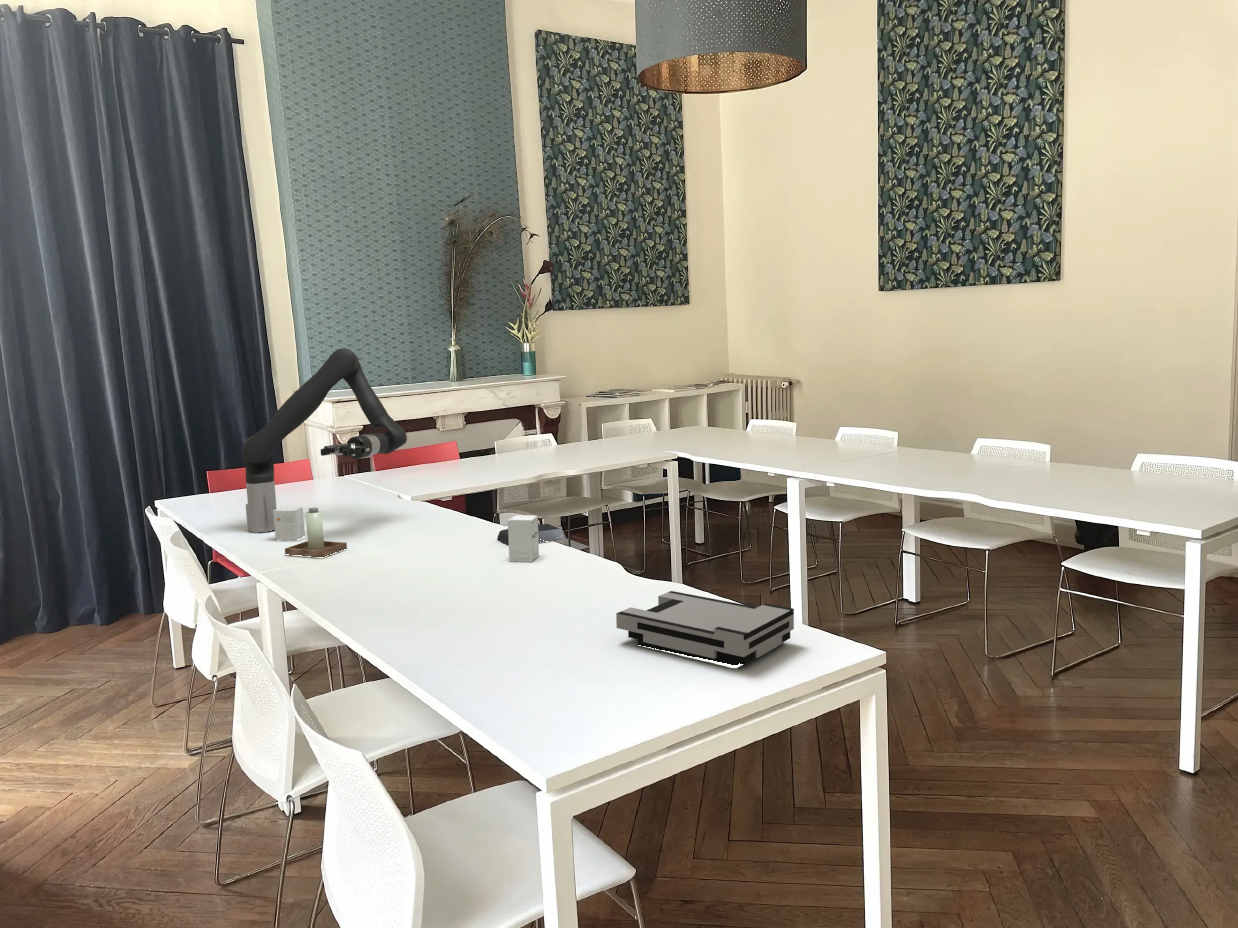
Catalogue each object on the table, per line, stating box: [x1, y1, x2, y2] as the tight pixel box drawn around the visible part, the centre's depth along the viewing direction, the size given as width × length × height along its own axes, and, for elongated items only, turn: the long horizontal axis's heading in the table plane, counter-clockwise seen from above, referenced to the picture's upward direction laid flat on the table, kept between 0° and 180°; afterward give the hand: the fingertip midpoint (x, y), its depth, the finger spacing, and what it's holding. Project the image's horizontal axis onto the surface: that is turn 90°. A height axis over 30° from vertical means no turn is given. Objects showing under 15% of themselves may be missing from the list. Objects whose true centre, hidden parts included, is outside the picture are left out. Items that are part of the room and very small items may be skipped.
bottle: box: [305, 507, 325, 551], centre depth 296 cm, size 5×5×13 cm
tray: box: [284, 540, 348, 557], centre depth 297 cm, size 14×12×2 cm
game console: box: [615, 590, 795, 665], centre depth 205 cm, size 21×32×8 cm, turn 52°
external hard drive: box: [496, 523, 566, 547], centre depth 308 cm, size 13×19×4 cm
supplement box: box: [507, 514, 540, 563], centre depth 282 cm, size 7×7×13 cm
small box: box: [273, 506, 306, 541], centre depth 316 cm, size 8×6×10 cm
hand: (332, 452), depth 303 cm, fingers open, 8 cm apart
